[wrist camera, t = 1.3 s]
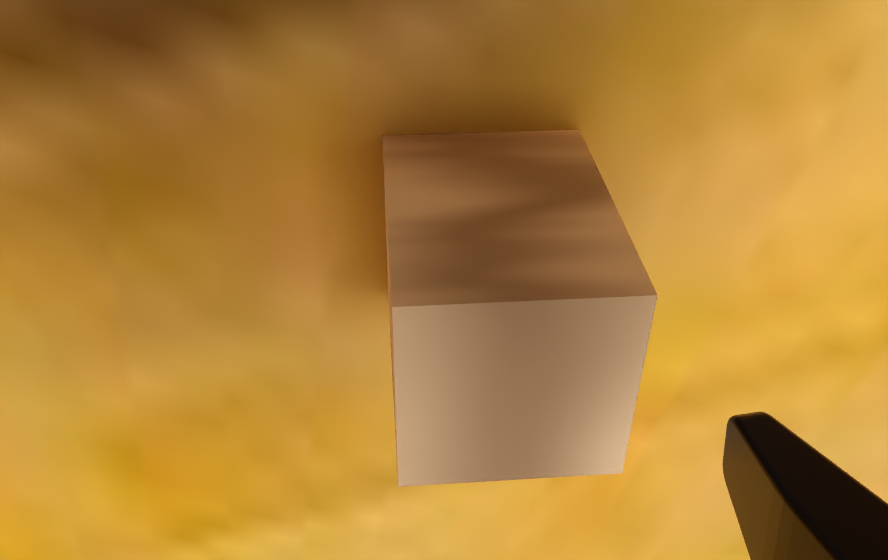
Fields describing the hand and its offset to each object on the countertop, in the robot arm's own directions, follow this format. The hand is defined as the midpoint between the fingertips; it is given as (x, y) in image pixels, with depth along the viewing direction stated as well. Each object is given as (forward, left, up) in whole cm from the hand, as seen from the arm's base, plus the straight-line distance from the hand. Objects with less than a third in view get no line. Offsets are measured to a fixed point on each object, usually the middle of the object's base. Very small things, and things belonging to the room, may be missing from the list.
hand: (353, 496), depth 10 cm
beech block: (-3, +4, -13) cm, 14 cm away
